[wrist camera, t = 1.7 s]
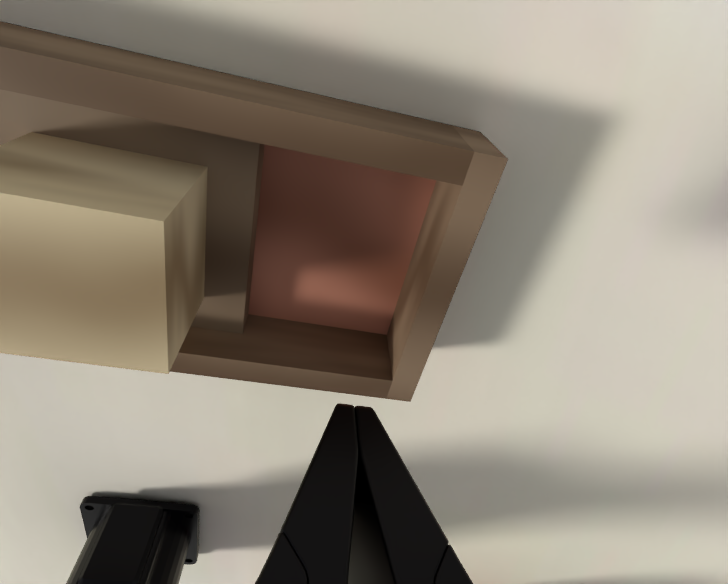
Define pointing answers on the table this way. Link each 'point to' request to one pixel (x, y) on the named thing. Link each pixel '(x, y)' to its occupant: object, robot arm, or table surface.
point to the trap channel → (281, 207)
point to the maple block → (99, 253)
